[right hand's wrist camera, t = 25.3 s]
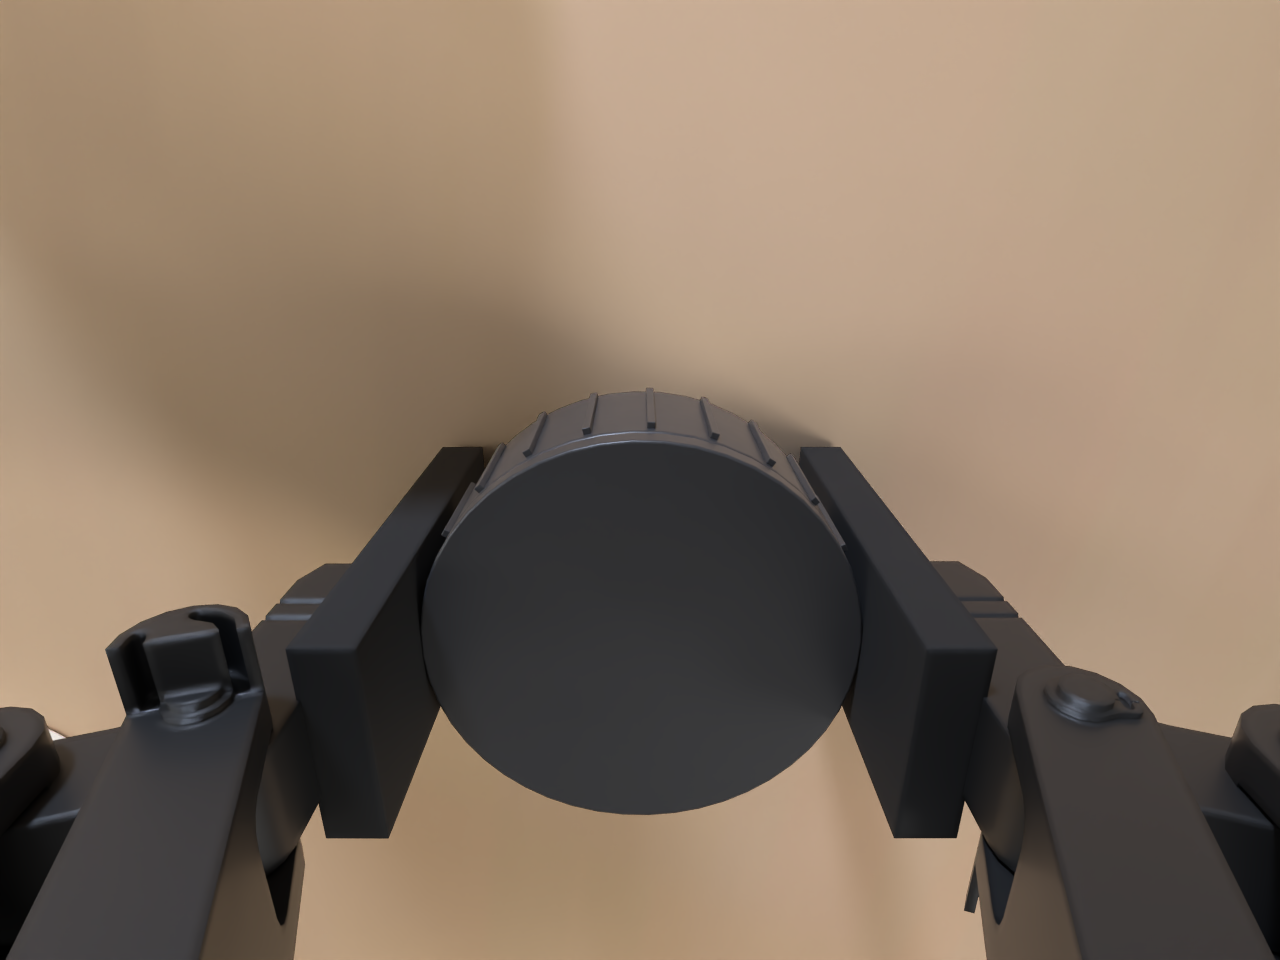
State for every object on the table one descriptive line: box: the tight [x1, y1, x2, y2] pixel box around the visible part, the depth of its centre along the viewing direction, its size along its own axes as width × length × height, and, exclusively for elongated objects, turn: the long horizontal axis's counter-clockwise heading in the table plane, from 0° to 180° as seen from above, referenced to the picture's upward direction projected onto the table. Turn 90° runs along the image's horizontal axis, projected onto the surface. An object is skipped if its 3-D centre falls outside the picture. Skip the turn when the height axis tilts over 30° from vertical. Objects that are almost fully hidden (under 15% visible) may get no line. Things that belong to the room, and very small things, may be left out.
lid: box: [420, 388, 862, 815], centre depth 11 cm, size 6×6×2 cm
